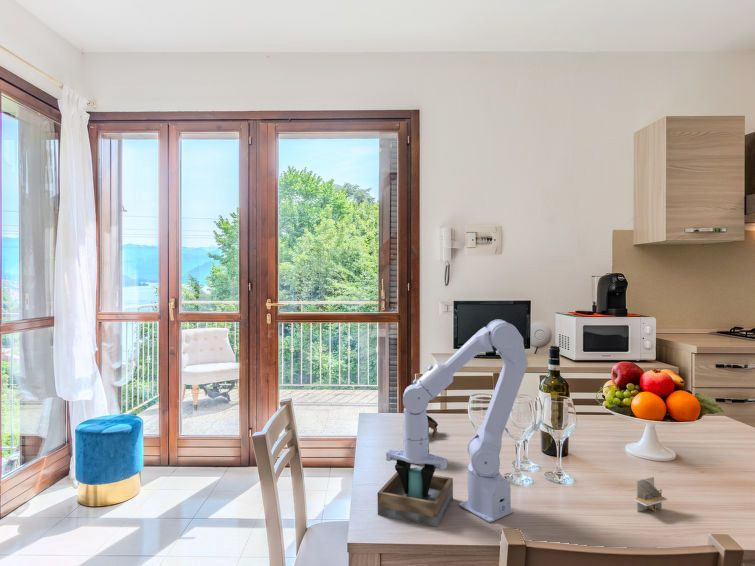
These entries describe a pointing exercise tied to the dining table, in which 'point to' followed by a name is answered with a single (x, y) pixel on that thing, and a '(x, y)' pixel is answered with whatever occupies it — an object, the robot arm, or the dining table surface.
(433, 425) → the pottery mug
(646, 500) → the architectural model
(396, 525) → the dining table surface
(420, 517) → the socket box
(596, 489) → the dining table surface
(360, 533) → the dining table surface
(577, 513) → the dining table surface
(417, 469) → the peg
